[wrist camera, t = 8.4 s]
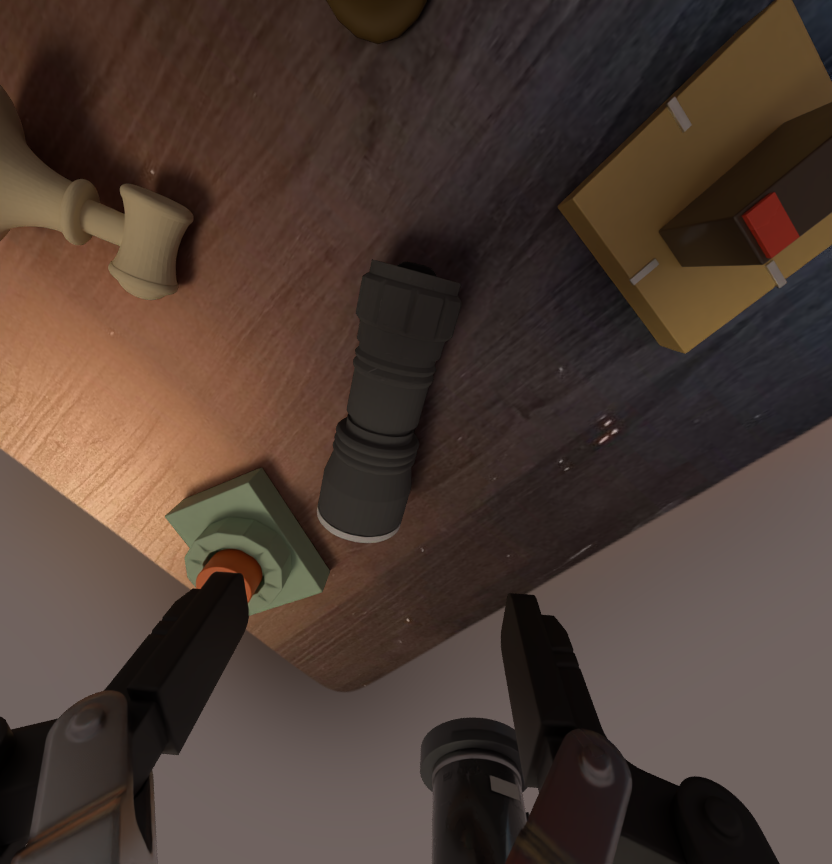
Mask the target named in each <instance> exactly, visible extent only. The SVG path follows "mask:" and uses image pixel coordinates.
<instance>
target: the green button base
mask: <svg viewBox="0 0 832 864" xmlns="http://www.w3.org/2000/svg"><path fill="white" fill-rule="evenodd" d="M165 518H166V519H167V520H168V521H169V523H170V524H171V525H172V526H173V528H174V529H175V530H176V531H177V533H178V534H179V535H180V536H181V538H182V539H183V540H184V542H185V543H186V544H187V545H188V547H189V548H190V549H189V551H188V553H187V554H186V556H185V564H186V570H187V577H188V578H189V580H190V581H191V582H192V584H193V585H194V586H195V587H196V579H197V576H198V574H199V573H200V572H201V570H202V569H203V568H204V567H205V565H206V564H207V563H208V562H209V560H210V559H211V558H212V557H213V555H214V554H216V553H217V552H219V551H221V550H224V549H237V550H241V551H243V552H245V553H246V554H248V555H250V556H252V557H254V558H255V559H256V561H257V562H258V563H259V565H260V566H261V569H262V580H261V582H260V584H259V586H258V587H257V589H256V591H255V593H254V594H253V596H252V598H251V600H250V601H249V603H248V607H249V616H250V615H253V614H256V613H259V612H262V611H265V610H268V609H271V608H275V607H278V606H281V605H284V604H287V603H290V602H293V601H296V600H299V599H303V598H306V597H309V596H312V595H315V594H318V593H321V592H323V589H324V587H325V584H326V581H327V578H328V576H329V573H330V570H329V569H328V567H327V566H326V564H325V563H324V561H323V560H322V558H321V557H320V555H319V554H318V552H317V551H316V549H315V547H314V546H313V544H312V543H311V541H310V540H309V538H308V537H307V535H306V534H305V532H304V531H303V529H302V528H301V526H300V525H299V523H298V522H297V520H296V519H295V517H294V515H293V514H292V512H291V511H290V509H289V508H288V506H287V505H286V503H285V502H284V500H283V499H282V497H281V496H280V494H279V493H278V491H277V490H276V488H275V486H274V485H273V483H272V482H271V480H270V479H269V477H268V476H267V474H266V473H265V471H264V470H263V468H259V469H256V470H254V471H251V472H249V473H247V474H244V475H242V476H239V477H237V478H234V479H232V480H230V481H227V482H225V483H222V484H220V485H217V486H215V487H212V488H210V489H208V490H205V491H203V492H200V493H198V494H195V495H193V496H191V497H188V498H186V499H183V500H182V501H181V502H180V503H179V504H178V505H177V506H176V507H174V508H173V509H172V510H171V511H170V512H169V513H168V514H167V515H165Z"/></svg>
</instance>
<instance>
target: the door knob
mask: <svg viewBox="0 0 832 864" xmlns="http://www.w3.org/2000/svg"><path fill="white" fill-rule="evenodd" d="M120 194H121V196H122V198H123V203H124V210H125V214H123V213H121V212H119V211H116V210H114V209H112V208H109V207H107V206H105V205H103V204H100V199H99V195H98V192H97V190H96V188H95V186H94V185H93V184H92V183H91V182H89V181H88V180H85V179H78V180H75V181H74V182H72V181H70V180H68V179H66V178H64V177H63V176H61V175H59V174H58V173H56V172H55V171H53V170H52V169H51V168H49V167H48V166H47V165H46V164H44V163H43V162H42V161H41V160H40V159H39V158H38V157H37V156H36V155H35V154H34V153H33V152H32V150H31V149H30V148H29V147H28V146H27V144H26V139H25V134H24V130H23V127H22V123H21V120H20V118H19V115H18V113H17V110H16V108H15V106H14V104H13V102H12V101H11V99H10V97H9V96H8V94H7V93H6V91H5V90H4V89H3V87H2V86H1V85H0V241H1V240H2V239H3V238H4V237H5V236H6V235H7V233H8V232H9V231H10V229H11V228H15V227H22V226H36V227H44V228H49V229H54V230H57V231H60V232H63V235H64V236H65V238H66V239H67V240H68V241H69V242H70V243H72V244H75V245H83V244H85V243H87V242H88V241H89V240H90V239H91V237H92V236H96V237H98V238H101V239H103V240H106V241H108V242H111V243H113V244H116V245H118V246H120V248H119V251H118V253H117V255H116V257H115V258H114V260H113V261H111V262H110V264H109V266H108V269H109V272H110V273H111V275H112V276H113V277H115V278H116V279H117V280H118V282H119V283H120V285H121V286H122V287H123V288H124V289H125V290H126V291H127V292H129V293H130V294H132V295H134V296H136V297H138V298H142V299H145V300H156V299H160V298H163V297H164V296H166V295H170V294H174V293H176V292H177V290H178V283H177V281H176V257H177V252H178V247H179V244H180V242H181V239H182V237H183V235H184V233H185V231H186V229H187V227H188V226H189V224H191V223H192V222H193V215H192V213H191V211H190V210H188V209H187V208H186V207H184V206H182V205H181V204H179V203H177V202H175V201H173V200H171V199H169V198H166V197H164V196H162V195H160V194H157V193H155V192H153V191H150V190H148V189H145V188H142V187H139V186H136V185H133V184H123V185H122V186H121V187H120Z"/></svg>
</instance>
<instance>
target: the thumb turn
mask: <svg viewBox="0 0 832 864" xmlns="http://www.w3.org/2000/svg"><path fill="white" fill-rule="evenodd" d="M831 213H832V102H830V103H828V104H826V105H823V106H821V107H819V108H817V109H814V110H812V111H810V112H807V113H805V114H803V115H800V116H798V117H796V118H793V119H791V120H789V121H787V122H784V123H783V124H782V125H781V126H780V127H778V128H777V129H776V130H775V131H774V132H773V133H771V134H770V135H769V136H768V137H767V138H766V139H765V140H763V141H762V142H761V143H760V144H759V145H758V146H756V147H755V148H754V149H753V150H752V151H751V152H749V153H748V154H747V155H746V156H745V157H744V158H742V159H741V160H740V161H739V162H738V163H737V164H735V165H734V166H733V167H732V168H731V169H730V170H729V171H727V172H726V173H725V174H724V175H723V176H722V177H720V178H719V179H718V180H717V181H716V182H715V183H713V184H712V185H711V186H710V187H709V188H708V189H706V190H705V191H704V192H703V193H702V194H701V195H699V196H698V197H697V198H696V199H695V200H694V201H692V202H691V203H690V204H689V205H688V206H687V207H686V208H684V209H683V210H682V211H681V212H680V213H679V214H677V215H676V216H675V217H674V218H673V219H672V220H670V221H669V222H668V223H667V224H666V225H665V226H663V227H662V228H661V229H660V230H659V234H660V235H661V236H662V238H663V239H664V241H665V242H666V244H667V245H668V247H669V248H670V250H671V251H672V253H673V254H674V256H675V257H676V259H677V260H678V262H679V263H680V265H681V266H682V267H706V266H748V265H764V264H765V263H766V262H768V261H769V260H770V259H772V258H773V257H774V256H776V255H777V254H778V253H780V252H781V251H782V250H783V249H785V248H786V247H787V246H789V245H790V244H791V243H793V242H794V241H795V240H797V239H798V238H799V237H800V236H802V235H803V234H804V233H806V232H807V231H808V230H810V229H811V228H812V227H814V226H815V225H816V224H817V223H819V222H820V221H821V220H823V219H824V218H825V217H827V216H828V215H829V214H831Z"/></svg>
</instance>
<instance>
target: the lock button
mask: <svg viewBox="0 0 832 864" xmlns="http://www.w3.org/2000/svg"><path fill="white" fill-rule="evenodd" d="M216 571H218V572H232V573H241V574H242V575H243V577H244V582H245V589H246V595H247V601H248V603H249V601H250V600H251V598H252V596H253V594H254V593H255V591H256V589H257V587H258V586H259V584H260V582H261V580H262V569H261V566H260V565H259V563H258V562H257V561H256V559H255V558H254V557H252V556H250V555H248V554H246V553H245V552H243V551H241V550H237V549H224V550H221V551H219V552H217V553H216V554H214V555H213V557H212V558H211V559H210V560H209V562H208V563H207V564H206V565H205V567H204V568H203V569H202V570H201V572H200V573H199V574H198V576H197V579H196V588H197V589H201V588H202V586H203V585H204V584H205V582H206V581H207V580H208V578H209V577H210V576H211V574H213V573H214V572H216Z"/></svg>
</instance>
